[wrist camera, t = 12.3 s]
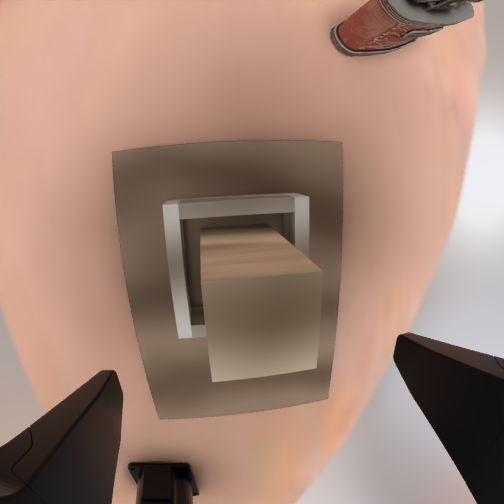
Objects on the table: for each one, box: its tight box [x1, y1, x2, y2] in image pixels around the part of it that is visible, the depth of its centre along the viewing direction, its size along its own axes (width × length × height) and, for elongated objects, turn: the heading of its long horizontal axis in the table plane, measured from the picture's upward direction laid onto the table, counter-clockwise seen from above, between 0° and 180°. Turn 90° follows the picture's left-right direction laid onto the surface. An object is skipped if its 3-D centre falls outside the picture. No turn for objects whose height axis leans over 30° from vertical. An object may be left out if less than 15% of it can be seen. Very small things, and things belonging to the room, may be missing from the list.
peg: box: [200, 224, 323, 382], centre depth 15 cm, size 4×4×9 cm
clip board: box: [112, 140, 343, 419], centre depth 19 cm, size 20×14×4 cm
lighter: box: [330, 0, 483, 57], centre depth 13 cm, size 8×3×10 cm, turn 115°
